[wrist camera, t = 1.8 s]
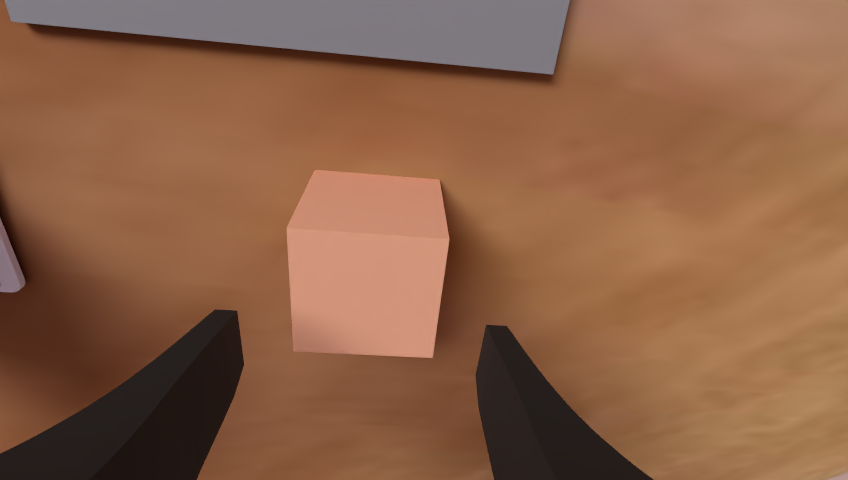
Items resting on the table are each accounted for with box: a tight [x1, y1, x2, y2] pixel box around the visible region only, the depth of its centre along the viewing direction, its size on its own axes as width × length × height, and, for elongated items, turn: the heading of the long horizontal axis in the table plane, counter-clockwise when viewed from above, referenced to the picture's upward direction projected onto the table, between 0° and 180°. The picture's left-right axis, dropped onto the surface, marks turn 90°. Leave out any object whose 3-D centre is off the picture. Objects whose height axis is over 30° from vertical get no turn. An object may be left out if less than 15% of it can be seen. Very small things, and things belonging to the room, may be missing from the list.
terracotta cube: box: [287, 170, 449, 358], centre depth 18 cm, size 5×5×5 cm
